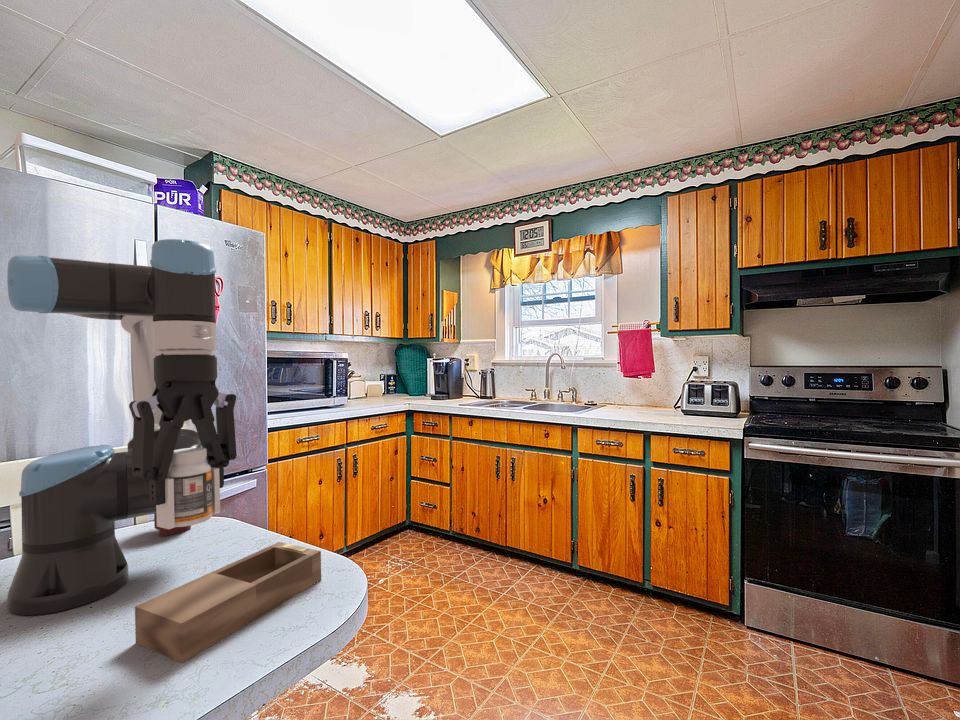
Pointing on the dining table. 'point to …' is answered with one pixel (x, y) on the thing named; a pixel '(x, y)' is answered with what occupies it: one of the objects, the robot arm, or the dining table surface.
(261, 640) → the dining table surface
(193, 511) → the pill bottle
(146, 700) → the dining table surface
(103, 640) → the dining table surface
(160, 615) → the brown wooden open box
